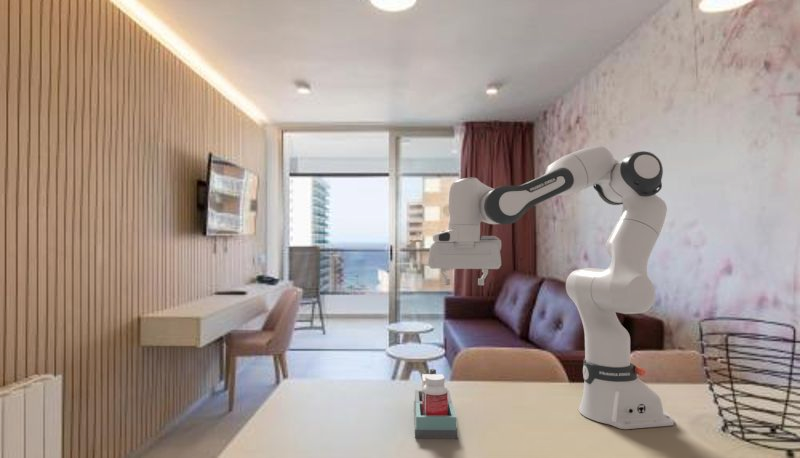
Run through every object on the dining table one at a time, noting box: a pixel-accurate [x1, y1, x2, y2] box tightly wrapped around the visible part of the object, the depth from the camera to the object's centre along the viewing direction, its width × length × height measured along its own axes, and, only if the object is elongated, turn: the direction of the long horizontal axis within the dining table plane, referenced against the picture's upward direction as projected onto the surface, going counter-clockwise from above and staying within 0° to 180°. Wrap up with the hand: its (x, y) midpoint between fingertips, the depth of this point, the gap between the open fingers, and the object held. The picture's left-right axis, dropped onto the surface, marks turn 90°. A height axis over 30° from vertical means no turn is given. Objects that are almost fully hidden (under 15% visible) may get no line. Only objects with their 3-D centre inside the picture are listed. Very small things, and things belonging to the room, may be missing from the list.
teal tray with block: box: [413, 368, 458, 439], centre depth 114 cm, size 10×18×12 cm, turn 179°
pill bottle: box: [422, 373, 448, 416], centre depth 109 cm, size 6×6×11 cm
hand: (464, 285), depth 124 cm, fingers open, 8 cm apart
